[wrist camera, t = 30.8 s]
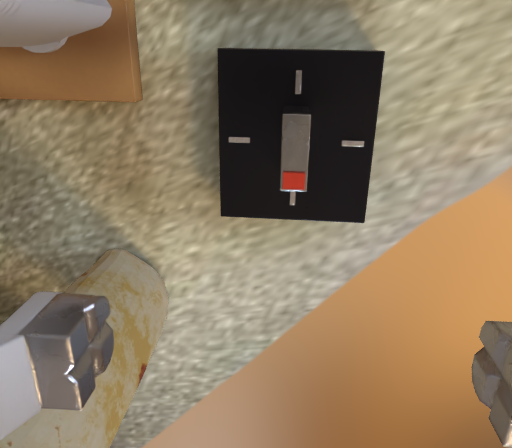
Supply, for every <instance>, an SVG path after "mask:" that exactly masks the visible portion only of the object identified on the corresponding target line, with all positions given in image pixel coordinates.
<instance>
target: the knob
mask: <svg viewBox="0 0 512 448" xmlns="http://www.w3.org/2000/svg"><path fill="white" fill-rule="evenodd" d="M310 130H311V111H310V106H284V110H283V115H282V142H281V171H280V190H281V191H301V192H306V191H307V181H308V164H309V147H310Z"/></svg>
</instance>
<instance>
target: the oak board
mask: <svg viewBox="0 0 512 448" xmlns="http://www.w3.org/2000/svg"><path fill="white" fill-rule="evenodd" d="M107 1H108V3H109V4H110V6H111V7H112V11H111V17H110V18H109V19H108V20H107V21H106V22H105V23H104V24H103V25H102V26H100V27H97V28H94V29H91V30H88V31H85V32H82V33H79V34H76V35H73V36H70V37H68V39H67V41H66V42H65V44H64V45H63V46H62V47H61V48H59V49H58V50H56V51H53V52H50V53H35V52H31V51H29V50H26V49H24V48H23V47H0V99H35V100H73V101H111V102H137V101H139V100H142V89H141V77H140V65H139V54H138V42H137V30H136V18H135V7H134V0H107Z"/></svg>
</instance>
